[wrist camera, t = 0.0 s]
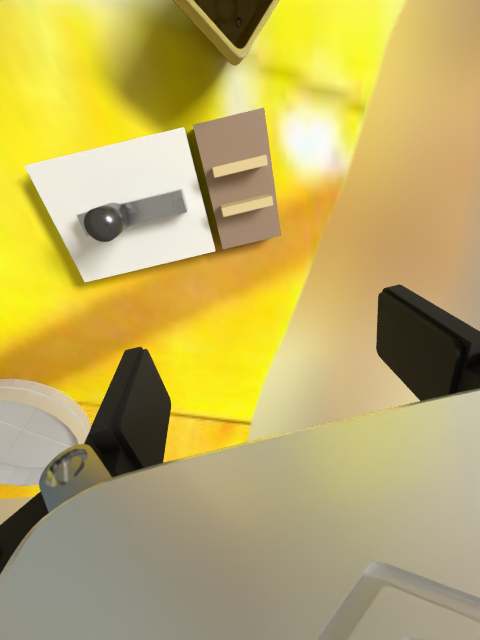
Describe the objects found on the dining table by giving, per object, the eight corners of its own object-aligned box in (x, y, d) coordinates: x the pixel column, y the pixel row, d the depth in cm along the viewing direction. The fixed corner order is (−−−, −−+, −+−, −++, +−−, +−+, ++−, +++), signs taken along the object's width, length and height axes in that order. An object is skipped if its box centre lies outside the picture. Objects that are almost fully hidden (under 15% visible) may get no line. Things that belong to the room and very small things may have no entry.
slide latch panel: (38, 165, 33) (8, 165, 28) (259, 112, 33) (269, 102, 28) (92, 275, 40) (76, 290, 35) (276, 231, 40) (286, 240, 35)
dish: (-15, 355, 45) (-39, 375, 40) (113, 412, 53) (105, 434, 49) (-61, 435, 51) (-86, 460, 47) (59, 474, 60) (48, 498, 55)
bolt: (82, 208, 33) (53, 218, 27) (181, 184, 33) (175, 188, 27) (95, 235, 35) (70, 250, 28) (189, 213, 35) (185, 223, 28)
